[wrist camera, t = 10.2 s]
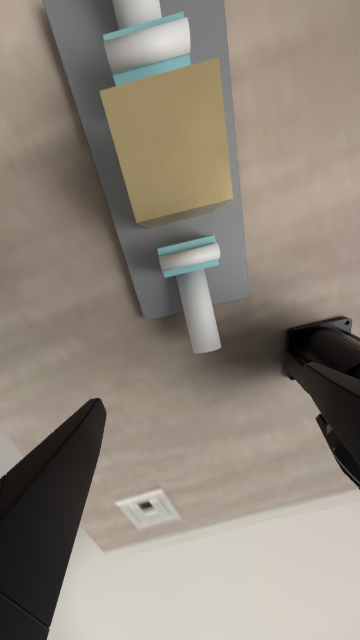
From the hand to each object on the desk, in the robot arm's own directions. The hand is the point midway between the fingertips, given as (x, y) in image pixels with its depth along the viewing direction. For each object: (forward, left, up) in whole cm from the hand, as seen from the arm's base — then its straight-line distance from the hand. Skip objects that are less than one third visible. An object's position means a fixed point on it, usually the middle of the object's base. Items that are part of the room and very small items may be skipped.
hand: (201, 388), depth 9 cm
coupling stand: (-1, -10, -11) cm, 15 cm away
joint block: (-1, -10, -10) cm, 14 cm away
